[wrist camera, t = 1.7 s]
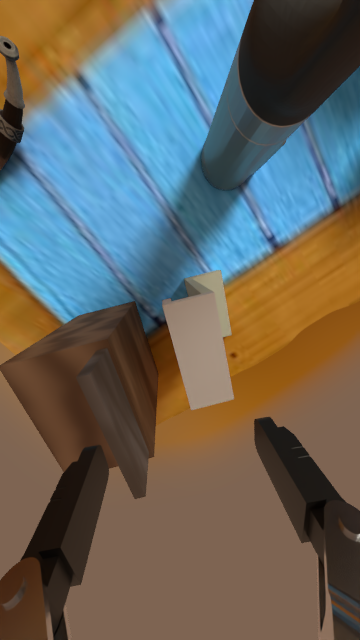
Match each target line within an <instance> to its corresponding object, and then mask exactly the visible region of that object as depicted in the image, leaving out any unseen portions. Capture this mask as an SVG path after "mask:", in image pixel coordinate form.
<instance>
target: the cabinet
mask: <svg viewBox="0 0 360 640" xmlns="http://www.w3.org/2000/svg"><path fill="white" fill-rule="evenodd" d="M0 370H1V372H2V374H3V375H4V377H5V378H6V380H7V382H8V383H9V385H10V386H11V388H12V389H13V391H14V393H15V394H16V396H17V398H18V399H19V401H20V403H21V404H22V406H23V407H24V409H25V411H26V412H27V414H28V415H29V417H30V419H31V420H32V422H33V423H34V425H35V427H36V428H37V430H38V431H39V433H40V434H41V436H42V438H43V439H44V441H45V443H46V444H47V446H48V447H49V449H50V451H51V452H52V454H53V455H54V457H55V459H56V460H57V462H58V463H59V465H60V467H61V468H62V470H63V471H64V472H65V470H66V469H67V468H68V467H69V465H70V464H71V463H72V462H75V461H78V459H79V456H80V454H81V452H82V450H83V449H84V448H85V447H89V446H95V445H101V446H102V449H103V452H104V454H105V457H106V460H107V463H108V467H109V468H113V467H116V466H119V468H120V470H121V472H122V474H123V476H124V478H125V480H126V482H127V484H128V486H129V488H130V490H131V492H132V494H133V496H134V498H135V499H137V498H141V497H145V496H146V495H145V494H146V483H147V470H148V458H151V457H154V445H155V426H156V407H157V388H158V371H157V368H156V365H155V362H154V359H153V356H152V353H151V350H150V347H149V343H148V340H147V337H146V334H145V331H144V328H143V325H142V322H141V319H140V316H139V312H138V309H137V306H136V303H135V301H134V302H130V303H126V304H122V305H118V306H114V307H110V308H106V309H102V310H98V311H94V312H91V313H87V314H83V315H79V316H77V317H76V318H74V319H72V320H71V321H69V322H68V323H66V324H65V325H63V326H61V327H60V328H58V329H57V330H55V331H54V332H52V333H50V334H49V335H47V336H46V337H44V338H43V339H41V340H39V341H38V342H36V343H35V344H33V345H32V346H30V347H28V348H27V349H25V350H24V351H22V352H20V353H19V354H17V355H16V356H14V357H13V358H11V359H9V360H8V361H6V362H5V363H3V364H2V365H0Z"/></svg>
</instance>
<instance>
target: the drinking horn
mask: <svg viewBox="0 0 360 640" xmlns="http://www.w3.org/2000/svg"><path fill="white" fill-rule="evenodd" d="M0 53H1V54H2V55H3V56H4V57H5V58H6V64H7V89H6V91H5V92H4V96H5V98H6V100H5V104H4V108H3V110H1V109H0V170H1V169H2V168H3V166H4V165H5V164H6V162H7V161H8V159H9V158H10V156H11V154H12V152H13V150H14V148H15V146H16V143H20V142H21V139H22V135H23V132H24V127H23V125H22V116H23V108H24V107H25V105H24V101H23V93H22V86H21V82H20V77H19V72H18V69H17V65H16V62H15V61H16V60H18V59H19V52H18V49H17V47H16V45H15V44H14V43H13V42H12V41H11V40H9V39H8V38H6V37H3V36H0Z"/></svg>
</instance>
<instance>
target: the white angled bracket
mask: <svg viewBox="0 0 360 640" xmlns="http://www.w3.org/2000/svg"><path fill="white" fill-rule="evenodd" d="M184 281H185V285H186V289H187V294H188V297H187V298H183V299H179V300H175V301H171V298H169V299H165V300H163V301H162V306H163V310H164V314H165V317H166V321H167V324H168V328H169V332H170V335H171V339H172V342H173V346H174V350H175V353H176V357H177V360H178V364H179V368H180V371H181V375H182V378H183V382H184V386H185V389H186V393H187V396H188V400H189V404H190V407H191V410H194V409H198V408H202V407H206V406H209V405H213V404H217V403H221V402H225V401H229V400H233V399H234V396H233V391H232V385H231V380H230V374H229V369H228V363H227V358H226V353H225V347H224V342H223V337H226V336H230V335H232V334H231V328H230V322H229V316H228V310H227V304H226V298H225V292H224V286H223V280H222V274H221V270H216V271H212V272H208V273H204V274H200V275H196V276H192V277H188V278H184Z"/></svg>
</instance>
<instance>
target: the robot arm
mask: <svg viewBox="0 0 360 640" xmlns="http://www.w3.org/2000/svg"><path fill="white" fill-rule="evenodd" d="M359 66H360V0H254V2H253V5H252V7H251V10H250V13H249V16H248V19H247V22H246V25H245V28H244V31H243V34H242V37H241V39H240V42H239V45H238V48H237V51H236V54H235V57H234V60H233V63H232V66H231V68H230V72H229V74H228V77H227V80H226V83H225V86H224V89H223V92H222V95H221V98H220V100H219V103H218V106H217V109H216V112H215V115H214V118H213V121H212V124H211V126H210V129H209V132H208V135H207V138H206V141H205V144H204V147H203V150H202V157H201V163H202V169H203V173H204V175H205V177H206V179H207V180H208V181H209V183H210V184H211V185H213V186H214V187H216V188H218V189H221V190H231V189H235V188H236V187H238V186H240V185H241V184H242V183H243V182H244V181H245V180H246V179H247V178H248V177H249V176H250V175H253V174H254V173H255V172H256V171H257V170H258V169H259V168H261V167H262V166H263V165H264V164H265V163H266V162H267V161H268V160H269V159H270V158H271V157H272V156H273V155H274V154H275V153H276V152H277V151H278V150H279V149H280V148H281V147H282V146H283V145H284V144H285V142H286V139H287V138H288V137H289V136H290V135H291V134H292V133H293V132H294V131H295V130H296V129H297V128H298V127H299V126H300V125H301V124H302V123H303V122H304V121H305V120H306V119H307V118H308V117H309V116H310V115H311V114H312V113H313V112H315V111H316V110H317V109H318V108H319V107H320V105H321V104H322V103H323V102H324V101H325V100H326V99H327V98H328V97H329V96H330V95H331V94H332V93H333V92H334V91H335V90H336V89H337V88H338V87H339V86H340V85H341V84H342V83H343V82H344V81H345V80H346V79H347V78H348V77H349V76H350V75H351V74H352V73H353V72H354V71H355V70H356V69H357V68H358V67H359ZM254 425H255V427H254V428H255V429H254V430H255V445H256V449H257V452H258V454H259V456H260V458H261V460H262V463H263V464H264V467H265V469H266V471H267V473H268V475H269V477H270V479H271V481H272V483H273V485H274V487H275V489H276V491H277V493H278V495H279V497H280V499H281V502H282V503H283V505H284V508H285V510H286V512H287V514H288V516H289V518H290V520H291V522H292V524H293V526H294V528H295V530H296V532H297V534H298V536H299V539H300V541H301V543H304V542H309V541H311V543H312V545H313V547H314V549H315V551H316V553H317V586H318V587H317V589H318V590H317V591H318V640H360V511H359V510H358V509H356V508H355V507H353V506H352V505H350V504H348V503H346V502H345V501H344V500H343V499H342V498H341V497H340V495H339V494H338V493H337V491H336V490H335V489H334V487H333V486H332V485H331V483H330V482H329V480H328V479H327V478H326V476H325V475H324V474H323V473H322V471H321V470H320V469H319V467H318V466H317V464H316V463H315V462H314V460H313V459H312V458H311V457H310V456H309V454H308V452H307V451H306V450H305V448H303V446H302V444H301V443H300V442H299V440H298V439H297V438H296V436H295V435H294V434H293V433H291V432H290V431H289V430H288V429H286V428H285V427H277V426H276V424H275V423H274V421H273V420H272V419H271V418H270V417H264V418H259V419H255V421H254ZM108 475H109V467H108V463H107V460H106V457H105V454H104V452H103V449H102V446H101V445H95V446H89V447H85V448H84V449H83V450H82V452H81V454H80V456H79V459H78V461H75V462H72V463H71V464H70V465H69V467H68V468H67V469H66V470H65V472H64V473H63V474H62V476H61V479H60V480H59V483H58V485H57V487H56V490H55V491H54V493H53V495H52V497H51V499H50V500H51V501H50V503H49V504H48V506H47V508H46V510H45V512H44V514H43V516H42V518H41V520H40V522H39V524H38V527H37V529H36V531H35V533H34V535H33V537H32V539H31V541H30V543H29V545H28V547H27V549H26V551H25V553H24V555H23V557H22V559H21V560H20V562H18V563H17V564H16V565H14V566H13V567H12V568H11V569H10V570H9V571H8V572H7V573H6V574H5V575H4V576H3V577H2V579H1V580H0V640H72V638H71V632H70V626H69V620H68V615H67V609H66V604H65V602H66V599H67V595H68V592H69V588H70V587H71V586H76V585H81V582H82V578H83V574H84V570H85V567H86V563H87V559H88V555H89V551H90V547H91V543H92V539H93V535H94V532H95V528H96V524H97V520H98V516H99V512H100V509H101V505H102V501H103V497H104V493H105V489H106V485H107V481H108Z"/></svg>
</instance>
